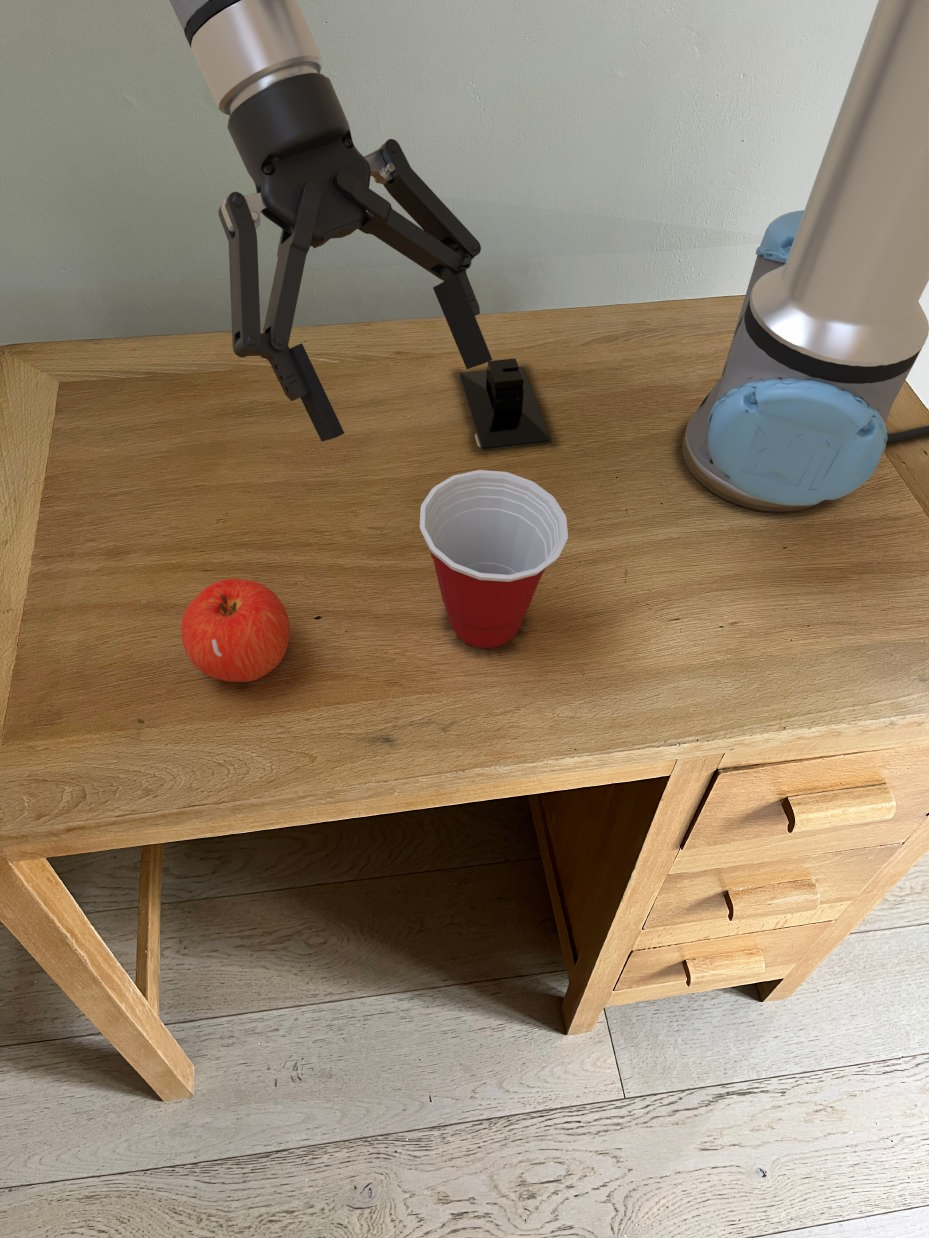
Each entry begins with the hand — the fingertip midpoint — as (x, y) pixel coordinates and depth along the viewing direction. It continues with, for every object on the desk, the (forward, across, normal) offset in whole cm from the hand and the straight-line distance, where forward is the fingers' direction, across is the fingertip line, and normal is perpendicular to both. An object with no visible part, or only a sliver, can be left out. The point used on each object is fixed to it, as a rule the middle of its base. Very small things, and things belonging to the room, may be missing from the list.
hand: (409, 400), depth 63 cm
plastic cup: (+19, +1, -2) cm, 19 cm away
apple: (+13, +18, -9) cm, 24 cm away
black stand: (+6, -19, -18) cm, 27 cm away
